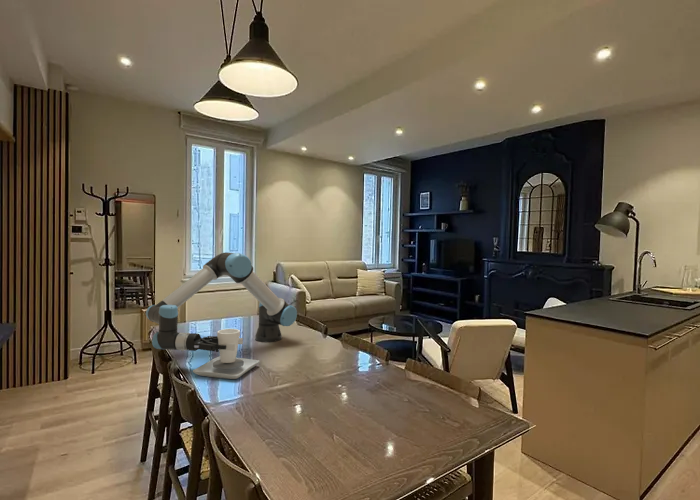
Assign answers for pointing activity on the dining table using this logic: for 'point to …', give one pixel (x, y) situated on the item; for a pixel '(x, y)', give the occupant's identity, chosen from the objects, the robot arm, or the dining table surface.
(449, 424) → the dining table surface
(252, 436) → the dining table surface
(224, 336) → the foam cup
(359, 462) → the dining table surface
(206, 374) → the salad plate
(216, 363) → the slate coaster
